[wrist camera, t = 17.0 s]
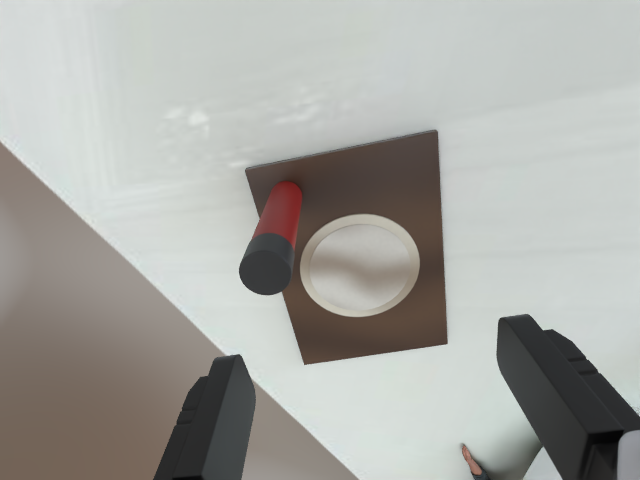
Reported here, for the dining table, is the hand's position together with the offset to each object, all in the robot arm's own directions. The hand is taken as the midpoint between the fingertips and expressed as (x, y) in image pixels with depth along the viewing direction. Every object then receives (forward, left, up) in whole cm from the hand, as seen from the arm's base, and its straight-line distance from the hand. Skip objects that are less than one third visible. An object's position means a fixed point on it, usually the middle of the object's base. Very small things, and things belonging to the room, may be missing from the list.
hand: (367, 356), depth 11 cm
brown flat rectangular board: (+7, 0, -17) cm, 19 cm away
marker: (0, -4, -17) cm, 17 cm away
